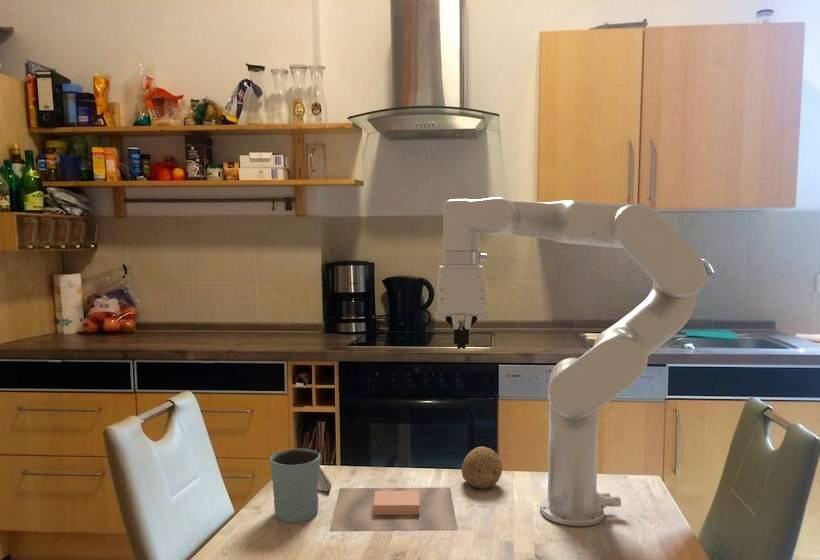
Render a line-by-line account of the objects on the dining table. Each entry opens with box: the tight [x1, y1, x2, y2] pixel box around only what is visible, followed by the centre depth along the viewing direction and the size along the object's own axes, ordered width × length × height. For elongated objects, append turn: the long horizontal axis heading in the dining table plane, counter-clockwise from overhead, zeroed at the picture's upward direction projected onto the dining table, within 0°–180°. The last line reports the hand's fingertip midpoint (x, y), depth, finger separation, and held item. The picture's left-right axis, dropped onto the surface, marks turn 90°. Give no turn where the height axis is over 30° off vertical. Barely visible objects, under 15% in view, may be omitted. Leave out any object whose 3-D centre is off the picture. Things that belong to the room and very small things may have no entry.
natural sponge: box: [461, 446, 503, 490], centre depth 140 cm, size 9×9×10 cm
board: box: [329, 486, 459, 532], centre depth 130 cm, size 24×20×2 cm
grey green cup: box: [269, 448, 321, 524], centre depth 130 cm, size 10×10×12 cm
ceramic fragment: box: [318, 466, 332, 494], centre depth 145 cm, size 14×5×4 cm, turn 23°
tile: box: [374, 491, 419, 515], centre depth 129 cm, size 2×7×9 cm
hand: (461, 347), depth 133 cm, fingers closed
